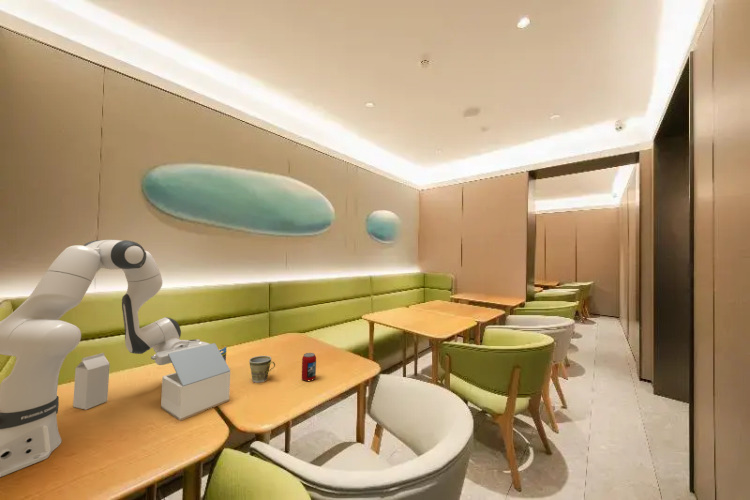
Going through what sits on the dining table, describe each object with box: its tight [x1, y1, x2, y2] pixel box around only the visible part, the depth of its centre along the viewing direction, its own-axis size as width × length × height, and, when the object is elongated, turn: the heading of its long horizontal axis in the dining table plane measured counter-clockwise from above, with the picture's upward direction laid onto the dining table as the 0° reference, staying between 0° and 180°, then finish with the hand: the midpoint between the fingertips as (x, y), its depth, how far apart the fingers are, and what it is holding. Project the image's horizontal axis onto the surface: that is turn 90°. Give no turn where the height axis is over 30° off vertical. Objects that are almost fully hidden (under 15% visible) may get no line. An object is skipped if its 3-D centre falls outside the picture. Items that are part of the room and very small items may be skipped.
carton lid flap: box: [168, 343, 231, 387], centre depth 113 cm, size 16×18×1 cm
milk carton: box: [72, 352, 111, 410], centre depth 112 cm, size 7×7×19 cm
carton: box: [160, 371, 231, 422], centre depth 114 cm, size 16×19×12 cm
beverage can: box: [301, 352, 317, 382], centre depth 140 cm, size 7×7×12 cm
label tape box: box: [218, 346, 227, 363], centre depth 145 cm, size 9×4×12 cm, turn 178°
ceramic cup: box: [248, 355, 276, 384], centre depth 138 cm, size 13×10×10 cm
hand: (193, 356), depth 116 cm, fingers closed
